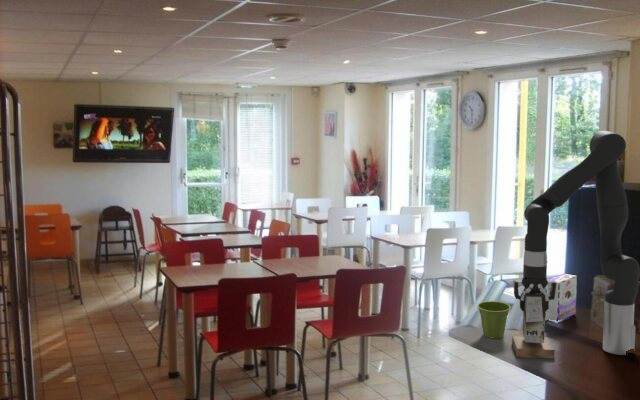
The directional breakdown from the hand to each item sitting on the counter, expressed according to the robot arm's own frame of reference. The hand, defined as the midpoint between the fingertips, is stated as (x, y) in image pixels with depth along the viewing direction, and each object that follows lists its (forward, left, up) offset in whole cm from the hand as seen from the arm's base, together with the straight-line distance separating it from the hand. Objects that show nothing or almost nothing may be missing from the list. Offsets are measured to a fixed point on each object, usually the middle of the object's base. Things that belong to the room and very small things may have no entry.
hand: (533, 310), depth 226 cm
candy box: (-17, -37, -15) cm, 43 cm away
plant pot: (+11, -15, -15) cm, 24 cm away
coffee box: (0, 0, -10) cm, 10 cm away
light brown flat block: (0, 0, -14) cm, 14 cm away
